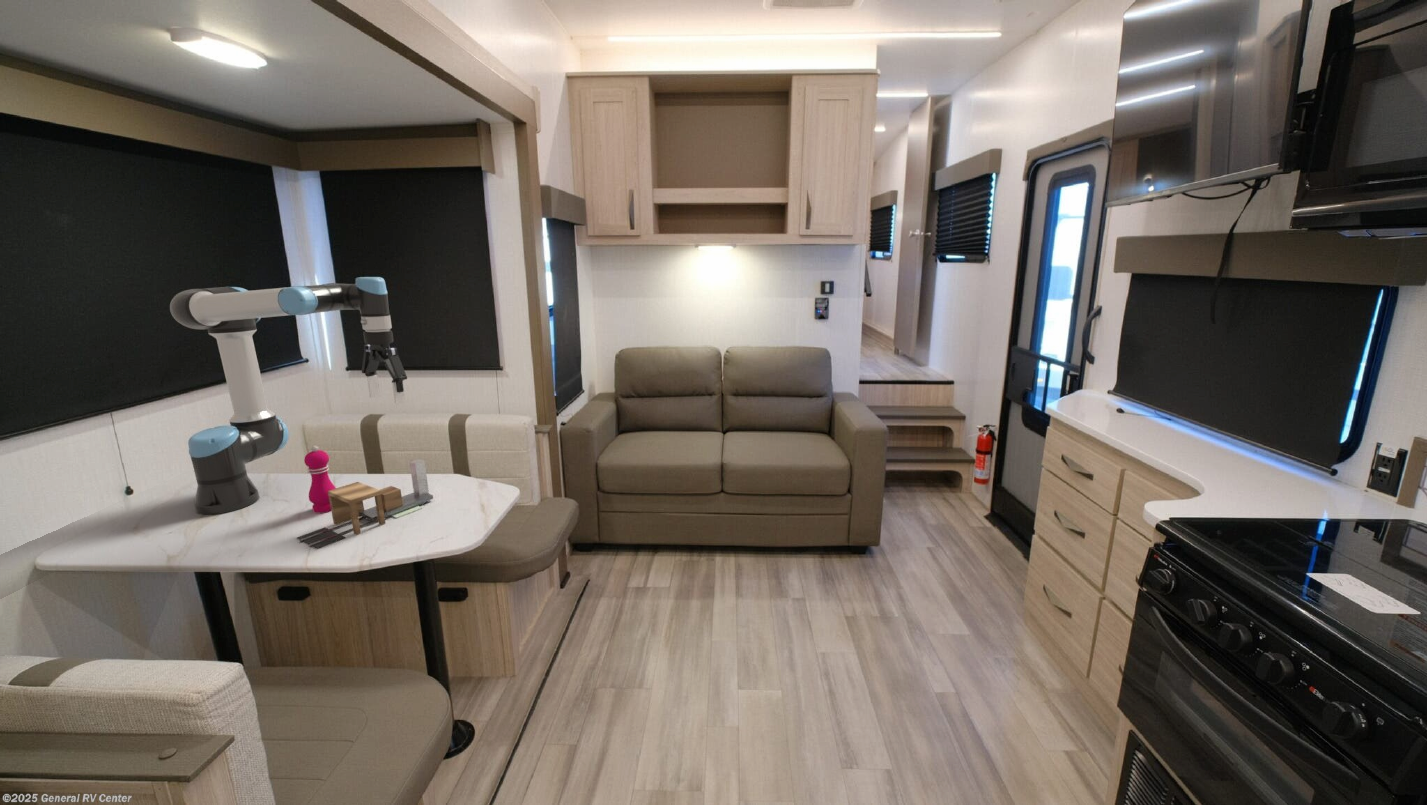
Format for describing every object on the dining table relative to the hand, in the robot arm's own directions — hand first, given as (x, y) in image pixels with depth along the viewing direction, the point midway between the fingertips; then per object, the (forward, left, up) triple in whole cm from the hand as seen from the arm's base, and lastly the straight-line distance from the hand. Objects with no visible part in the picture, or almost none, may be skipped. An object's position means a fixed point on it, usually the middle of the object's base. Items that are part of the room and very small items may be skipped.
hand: (387, 399), depth 174 cm
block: (+10, -9, -30) cm, 32 cm away
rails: (+10, -16, -32) cm, 37 cm away
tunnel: (+10, -18, -32) cm, 38 cm away
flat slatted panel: (+10, -28, -32) cm, 43 cm away
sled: (+10, -7, -31) cm, 33 cm away
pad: (+10, -6, -32) cm, 34 cm away
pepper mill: (-9, -18, -32) cm, 38 cm away
